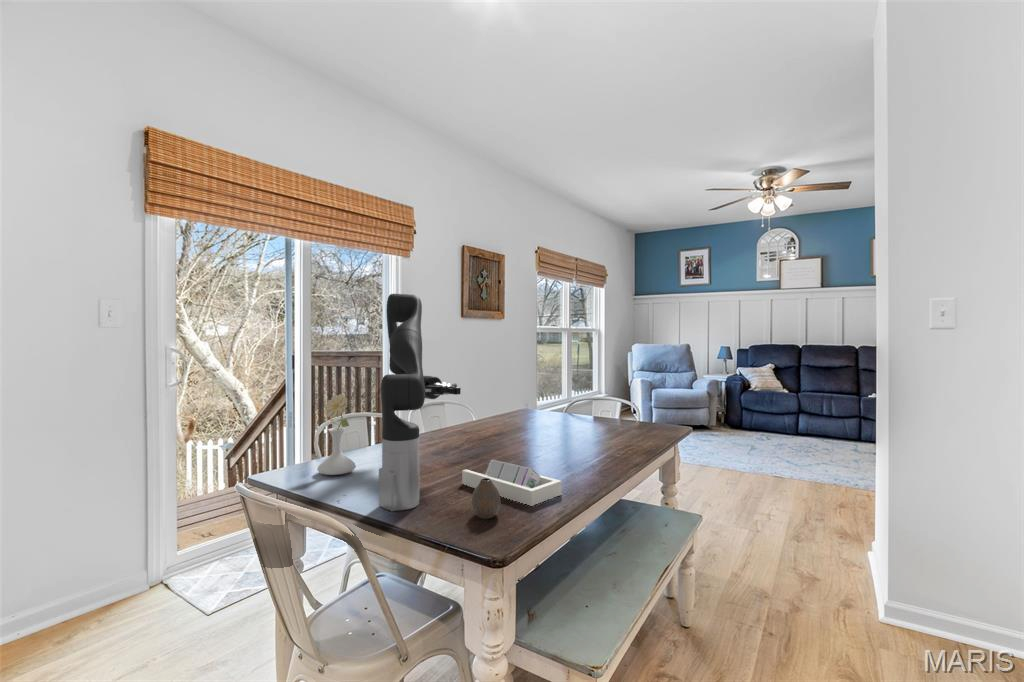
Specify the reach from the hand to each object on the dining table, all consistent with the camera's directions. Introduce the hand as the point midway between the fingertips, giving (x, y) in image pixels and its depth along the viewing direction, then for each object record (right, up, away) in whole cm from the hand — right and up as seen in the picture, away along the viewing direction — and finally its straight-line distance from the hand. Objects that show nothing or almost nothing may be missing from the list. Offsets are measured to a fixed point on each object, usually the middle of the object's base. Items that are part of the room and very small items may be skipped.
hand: (458, 391), depth 153 cm
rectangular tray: (+16, -26, -15) cm, 34 cm away
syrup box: (+11, -22, -11) cm, 27 cm away
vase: (+10, -27, -35) cm, 45 cm away
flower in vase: (-38, -26, +1) cm, 46 cm away
